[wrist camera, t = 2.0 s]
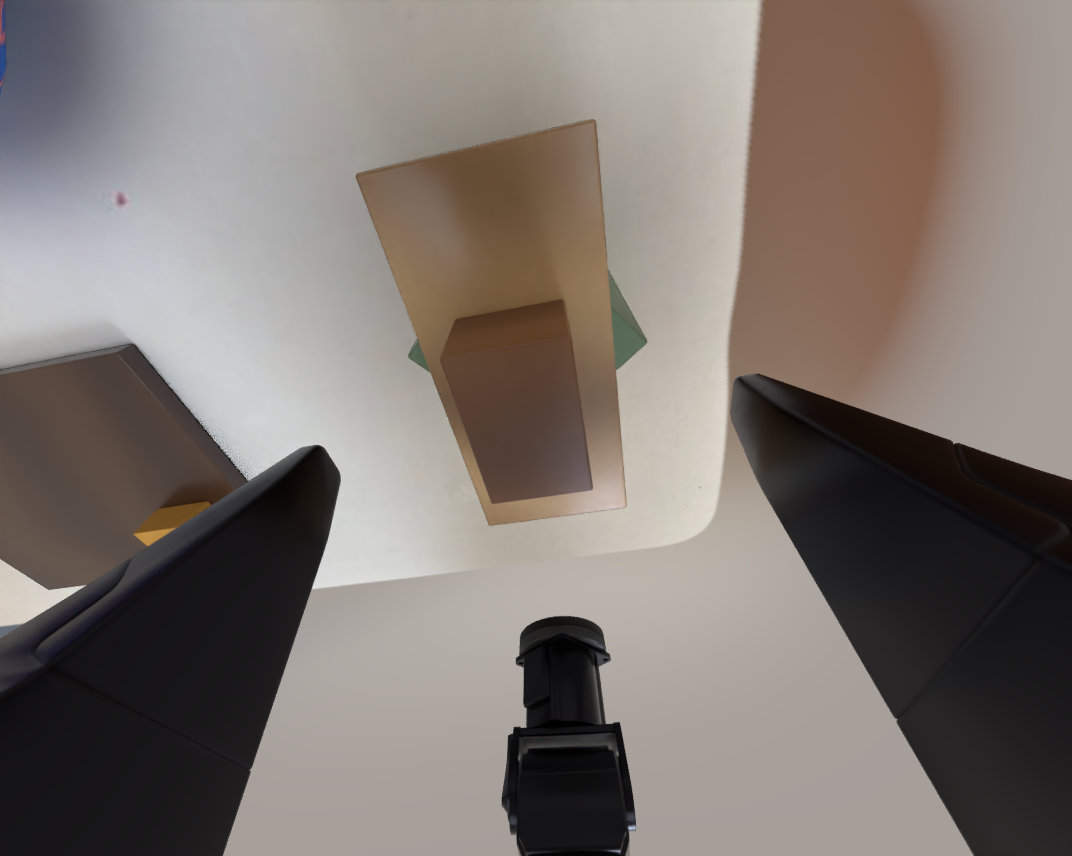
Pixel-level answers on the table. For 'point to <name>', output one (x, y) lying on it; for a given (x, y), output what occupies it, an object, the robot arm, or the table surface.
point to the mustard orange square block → (167, 521)
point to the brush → (513, 313)
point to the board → (95, 463)
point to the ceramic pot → (2, 43)
